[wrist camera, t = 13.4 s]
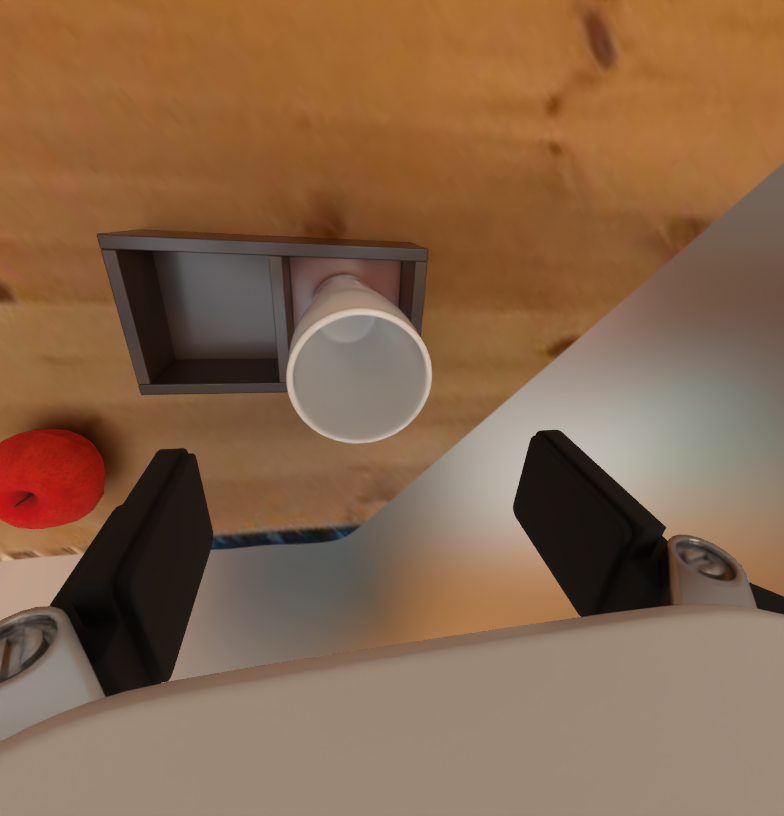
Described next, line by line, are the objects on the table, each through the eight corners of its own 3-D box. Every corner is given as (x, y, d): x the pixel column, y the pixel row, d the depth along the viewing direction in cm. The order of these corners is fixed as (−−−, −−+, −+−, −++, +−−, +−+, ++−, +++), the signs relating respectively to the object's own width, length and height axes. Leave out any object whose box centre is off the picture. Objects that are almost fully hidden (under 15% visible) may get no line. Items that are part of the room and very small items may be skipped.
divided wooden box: (139, 229, 26) (95, 233, 21) (410, 242, 29) (428, 249, 24) (170, 365, 31) (140, 395, 26) (402, 363, 34) (416, 390, 29)
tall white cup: (319, 247, 28) (315, 279, 15) (401, 285, 30) (461, 343, 17) (290, 330, 30) (263, 422, 17) (367, 360, 32) (396, 461, 19)
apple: (139, 481, 35) (97, 542, 29) (46, 492, 34) (-18, 557, 28) (106, 406, 32) (50, 456, 25) (1, 416, 31) (-86, 470, 24)
